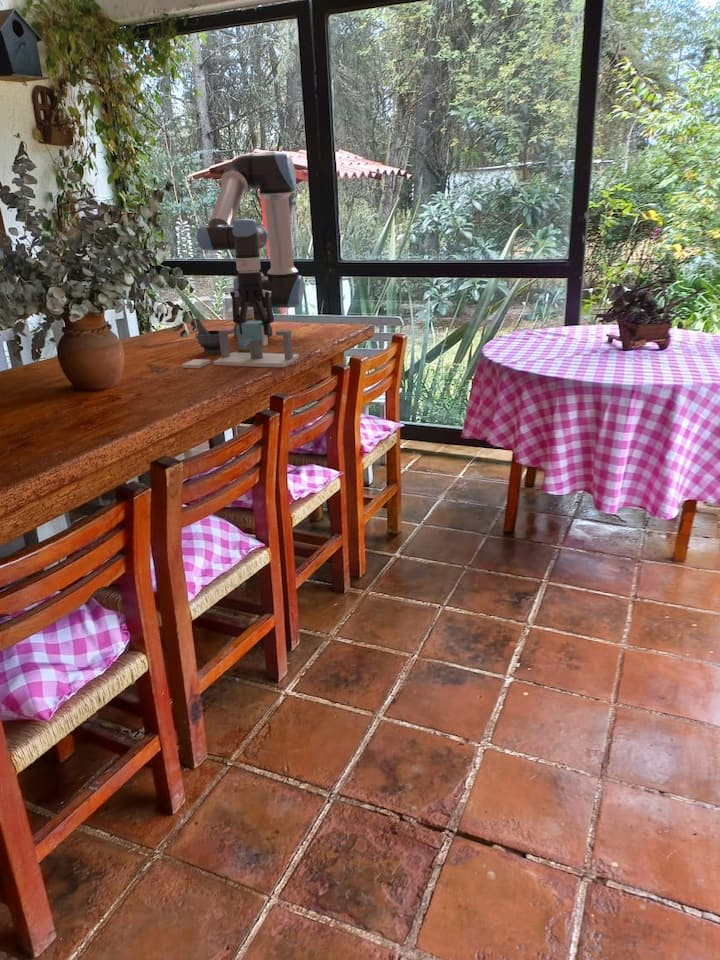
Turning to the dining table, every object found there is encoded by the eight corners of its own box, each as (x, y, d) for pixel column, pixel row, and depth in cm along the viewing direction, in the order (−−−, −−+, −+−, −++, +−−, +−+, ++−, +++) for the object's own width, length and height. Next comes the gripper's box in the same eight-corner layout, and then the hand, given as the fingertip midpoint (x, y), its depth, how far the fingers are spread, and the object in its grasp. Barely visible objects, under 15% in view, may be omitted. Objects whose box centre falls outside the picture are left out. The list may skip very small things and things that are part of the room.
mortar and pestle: (231, 349, 250) (227, 315, 245) (221, 355, 241) (217, 320, 237) (201, 349, 252) (197, 315, 247) (191, 355, 244) (186, 320, 239)
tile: (194, 362, 232) (194, 359, 232) (210, 362, 231) (210, 359, 230) (182, 367, 225) (182, 364, 225) (198, 368, 224) (198, 365, 223)
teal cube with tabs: (233, 344, 220) (231, 327, 218) (258, 332, 237) (257, 317, 235) (251, 344, 218) (249, 327, 216) (275, 333, 235) (273, 317, 233)
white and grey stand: (233, 355, 240) (229, 322, 235) (299, 357, 233) (297, 324, 229) (214, 365, 227) (210, 330, 223) (283, 367, 221) (280, 332, 216)
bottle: (254, 353, 242) (250, 309, 236) (235, 353, 243) (231, 309, 238) (261, 349, 248) (257, 306, 242) (242, 349, 250) (238, 306, 244)
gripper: (216, 272, 219) (224, 346, 227) (272, 272, 213) (278, 347, 222) (227, 270, 225) (234, 341, 234) (281, 269, 220) (287, 343, 229)
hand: (255, 344), depth 228 cm, fingers closed on teal cube with tabs, 6 cm apart
